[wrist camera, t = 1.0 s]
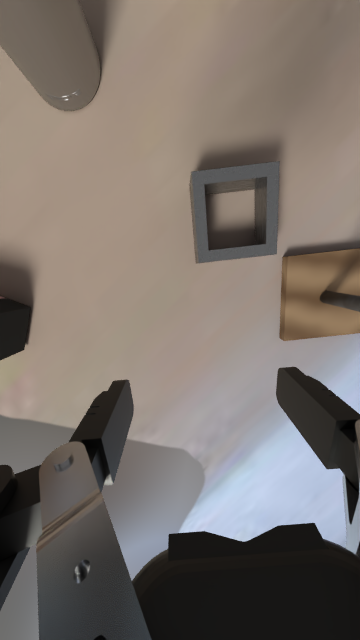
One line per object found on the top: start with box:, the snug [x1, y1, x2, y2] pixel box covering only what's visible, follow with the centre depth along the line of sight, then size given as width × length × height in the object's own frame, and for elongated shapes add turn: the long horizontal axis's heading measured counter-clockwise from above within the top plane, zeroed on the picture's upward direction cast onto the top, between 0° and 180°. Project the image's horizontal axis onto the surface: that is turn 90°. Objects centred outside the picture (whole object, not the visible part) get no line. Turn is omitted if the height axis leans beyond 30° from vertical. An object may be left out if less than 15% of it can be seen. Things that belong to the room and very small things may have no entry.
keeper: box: [280, 248, 360, 341], centre depth 27 cm, size 14×15×12 cm
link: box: [190, 161, 279, 263], centre depth 27 cm, size 11×11×4 cm
